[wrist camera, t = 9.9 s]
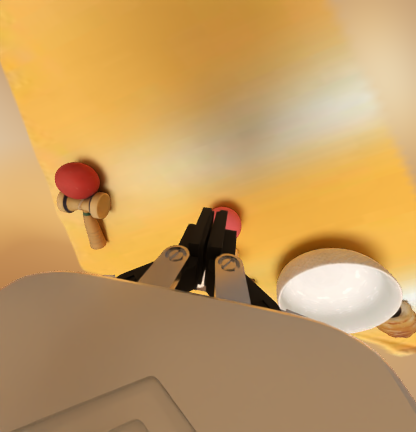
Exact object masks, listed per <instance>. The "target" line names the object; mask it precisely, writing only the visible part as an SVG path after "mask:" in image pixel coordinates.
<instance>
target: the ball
mask: <svg viewBox="0 0 416 432" xmlns="http://www.w3.org/2000/svg"><path fill="white" fill-rule="evenodd" d="M220 210H227V211H228V215H227V222H226V229H228V230H234V231H237V235H236V238H237V237H238V236H239V234H240V231H241V220H240V218H239V216H238V214H237V213H236V212H235V211H234V210H232V209H230V208H227V207H218V208H215V209H213V210H212V211H214V219H215V216H216V212H217V211H219V212H220ZM213 223H214V222H213Z"/></svg>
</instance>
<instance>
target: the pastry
mask: <svg viewBox="0 0 416 432" xmlns="http://www.w3.org/2000/svg"><path fill="white" fill-rule="evenodd" d="M376 327H378V328H379V329H380V330H381V331H383V332H385V333H386V334H388V335H389V336H392V337H403V338H407V337H410V336H411V335H412V334H413V333H415V332H416V314H415V312H414V311H413V310H412V309H411V305H409V304H408V303H406V302H403V301H402V303H401V306H400V308H399V309H398V311H397V312H396V313H395V314H394V315H393V316H392V317H391V318H390V319H388V320H387V321H386V322H384V323H382V324H380V325H379V326H376Z"/></svg>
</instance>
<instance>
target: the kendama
mask: <svg viewBox="0 0 416 432" xmlns="http://www.w3.org/2000/svg"><path fill="white" fill-rule="evenodd" d="M55 183H56V186H57V187H58V189H59V190H60V191H61V192H60V193H59V195H58V197H57V206H58V208H59V209H60V210H61V211H63V212H66V213H72V212H74V211H75V210H83V217H84V223H85V227H86V230H87V234H88V237H89V241H90V246H91V248H92V249H101V248H103V247H104V246H105V245H106V240H105V238H104V235H103V233H102V231H101V228H100V226H99V223H98V221H97V219H103V218H105V217H106V216H107V215H108V213H109V210H110V204H111V202H110V197H109V195H108V194H107V193H103V192H97V190H98V189H99V185H100V180H99V177H98V175H97V173H96V172H95V170H94V169H93V168H91V167H90V166H88V165H86V164H83V163H81V162H71V163H67V164H65V165H63V166H61V167H60V168H59V169H58V170H57V172H56V174H55ZM96 218H97V219H96Z"/></svg>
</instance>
